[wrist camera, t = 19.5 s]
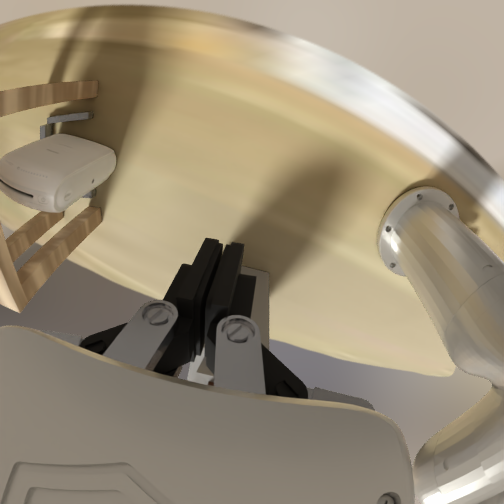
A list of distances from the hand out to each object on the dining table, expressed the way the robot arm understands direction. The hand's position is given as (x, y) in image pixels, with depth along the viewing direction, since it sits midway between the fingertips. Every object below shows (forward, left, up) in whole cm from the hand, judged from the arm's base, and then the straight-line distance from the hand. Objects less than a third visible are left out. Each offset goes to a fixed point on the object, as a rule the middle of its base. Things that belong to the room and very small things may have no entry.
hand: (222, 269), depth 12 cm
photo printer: (+20, 0, -18) cm, 27 cm away
